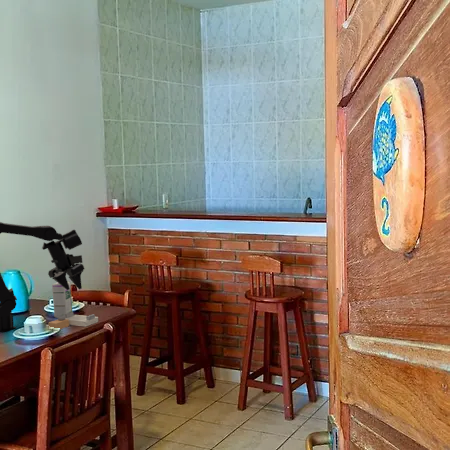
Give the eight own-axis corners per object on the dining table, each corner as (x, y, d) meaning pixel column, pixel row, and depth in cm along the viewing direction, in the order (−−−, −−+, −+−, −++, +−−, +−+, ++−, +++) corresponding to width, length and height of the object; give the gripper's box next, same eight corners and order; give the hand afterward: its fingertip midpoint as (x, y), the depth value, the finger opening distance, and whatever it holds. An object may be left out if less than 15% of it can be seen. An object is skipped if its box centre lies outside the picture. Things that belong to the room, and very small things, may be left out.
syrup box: (66, 317, 262) (64, 283, 261) (53, 317, 263) (51, 283, 262) (72, 314, 268) (70, 281, 266) (60, 314, 269) (58, 281, 268)
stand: (85, 326, 246) (85, 317, 246) (62, 324, 252) (61, 315, 251) (98, 321, 253) (97, 313, 253) (75, 319, 259) (74, 311, 259)
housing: (56, 331, 242) (56, 320, 241) (48, 330, 244) (48, 319, 243) (68, 326, 248) (68, 316, 248) (61, 325, 250) (60, 315, 249)
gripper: (86, 244, 251) (102, 279, 254) (62, 248, 264) (77, 281, 267) (64, 256, 243) (81, 292, 246) (40, 259, 256) (56, 293, 260)
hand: (74, 289), depth 255 cm, fingers open, 9 cm apart
